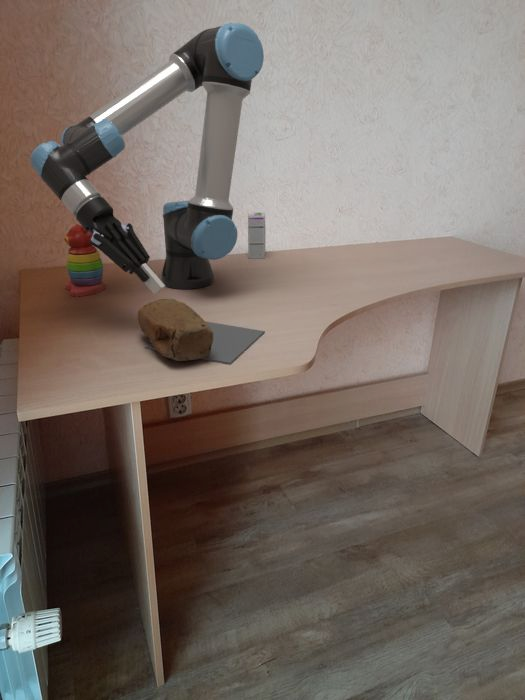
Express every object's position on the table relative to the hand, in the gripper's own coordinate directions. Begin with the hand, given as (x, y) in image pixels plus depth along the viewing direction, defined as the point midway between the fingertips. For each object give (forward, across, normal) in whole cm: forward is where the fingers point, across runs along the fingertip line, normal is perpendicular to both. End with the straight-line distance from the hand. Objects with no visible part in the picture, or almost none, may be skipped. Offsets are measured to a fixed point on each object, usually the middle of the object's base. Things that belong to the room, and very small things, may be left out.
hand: (159, 290), depth 116 cm
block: (+3, 0, -5) cm, 6 cm away
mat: (+15, 0, +1) cm, 15 cm away
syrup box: (+2, -71, -13) cm, 72 cm away
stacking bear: (-18, -18, -33) cm, 42 cm away
